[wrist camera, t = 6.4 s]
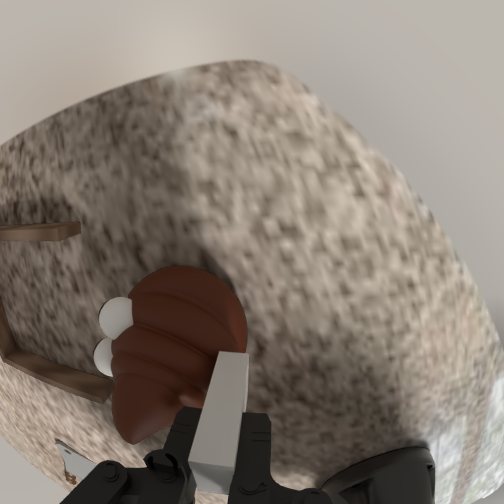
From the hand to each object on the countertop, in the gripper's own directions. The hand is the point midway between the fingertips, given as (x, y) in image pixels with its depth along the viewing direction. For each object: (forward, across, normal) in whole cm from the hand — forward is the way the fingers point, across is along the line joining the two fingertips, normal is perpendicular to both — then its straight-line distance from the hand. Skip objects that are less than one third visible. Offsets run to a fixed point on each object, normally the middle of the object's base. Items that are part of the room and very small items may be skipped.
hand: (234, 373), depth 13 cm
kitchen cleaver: (+5, +30, +38) cm, 48 cm away
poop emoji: (+5, +4, 0) cm, 6 cm away
